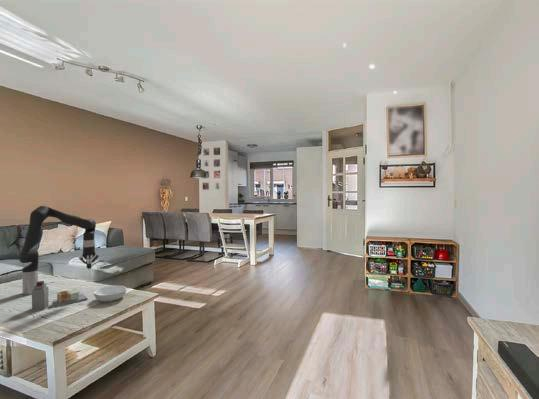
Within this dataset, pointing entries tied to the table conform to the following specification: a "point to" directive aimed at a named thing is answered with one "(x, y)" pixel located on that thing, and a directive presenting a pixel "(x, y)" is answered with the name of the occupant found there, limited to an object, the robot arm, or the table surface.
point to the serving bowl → (110, 293)
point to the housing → (74, 294)
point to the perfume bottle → (40, 296)
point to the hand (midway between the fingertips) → (89, 268)
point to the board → (81, 298)
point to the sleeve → (63, 296)
